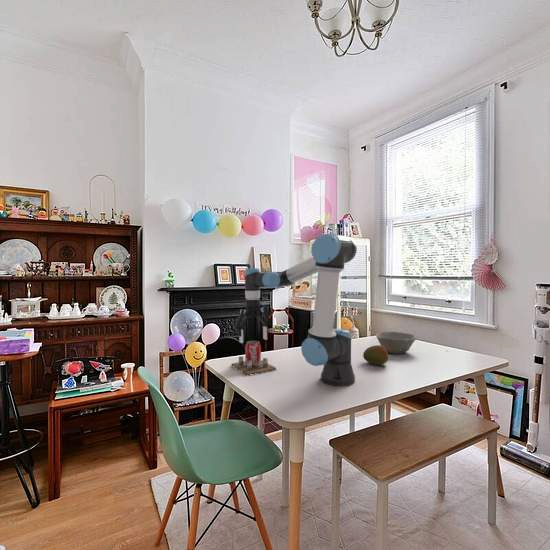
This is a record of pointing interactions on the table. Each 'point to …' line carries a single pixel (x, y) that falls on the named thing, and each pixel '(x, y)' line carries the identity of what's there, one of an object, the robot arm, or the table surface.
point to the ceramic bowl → (396, 341)
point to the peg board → (249, 370)
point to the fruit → (376, 355)
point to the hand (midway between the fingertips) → (253, 341)
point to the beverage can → (253, 353)
